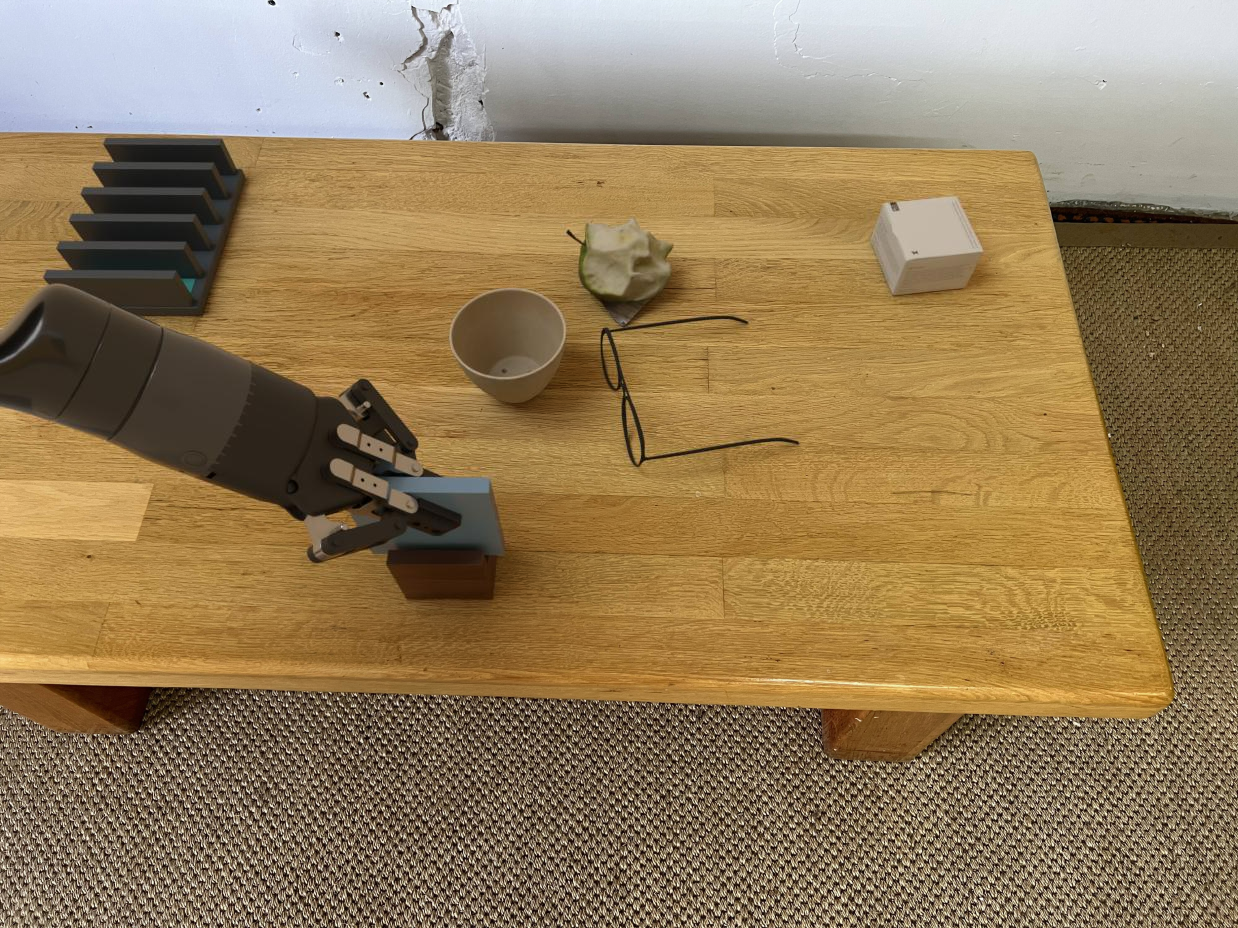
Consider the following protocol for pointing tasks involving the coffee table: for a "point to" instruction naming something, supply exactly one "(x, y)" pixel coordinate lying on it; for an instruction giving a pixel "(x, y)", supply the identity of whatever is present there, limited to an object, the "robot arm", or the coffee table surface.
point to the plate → (457, 496)
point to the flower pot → (509, 342)
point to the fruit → (622, 267)
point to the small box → (925, 245)
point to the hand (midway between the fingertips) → (455, 513)
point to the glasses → (623, 410)
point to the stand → (443, 574)
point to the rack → (154, 225)
